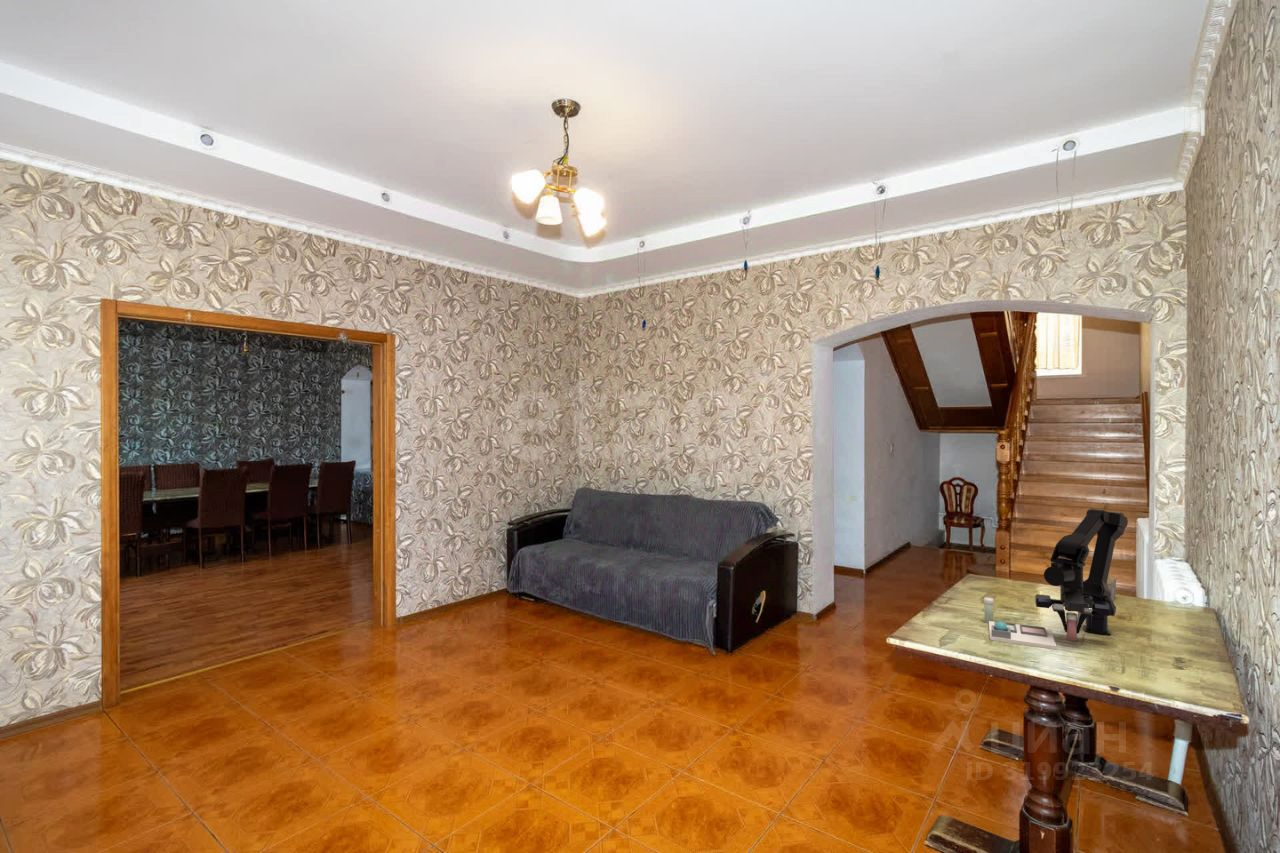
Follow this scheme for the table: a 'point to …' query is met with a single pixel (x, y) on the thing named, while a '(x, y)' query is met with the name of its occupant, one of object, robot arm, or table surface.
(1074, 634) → the rose marker
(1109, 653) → the table surface
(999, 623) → the button
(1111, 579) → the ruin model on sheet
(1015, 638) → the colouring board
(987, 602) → the sage marker
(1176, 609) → the table surface
